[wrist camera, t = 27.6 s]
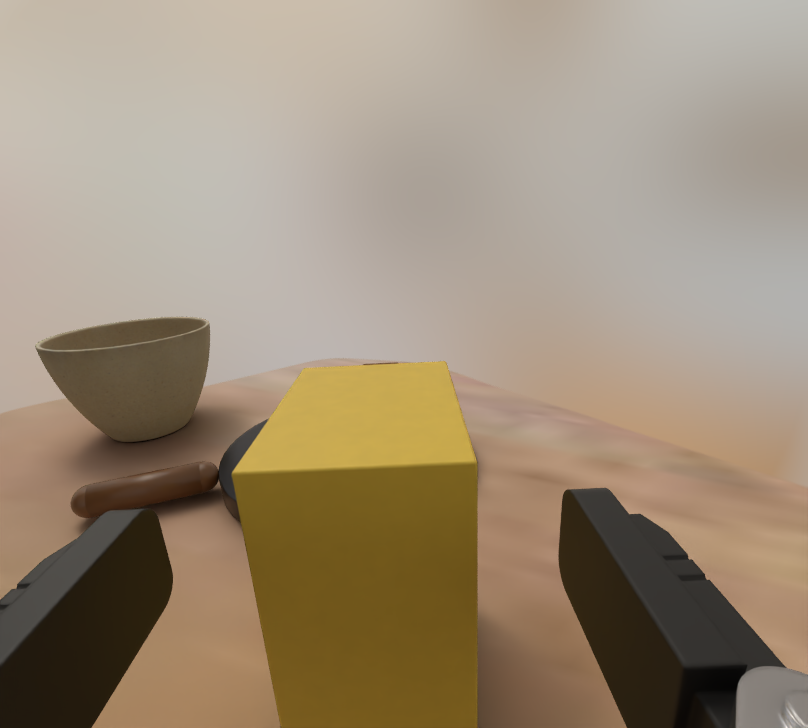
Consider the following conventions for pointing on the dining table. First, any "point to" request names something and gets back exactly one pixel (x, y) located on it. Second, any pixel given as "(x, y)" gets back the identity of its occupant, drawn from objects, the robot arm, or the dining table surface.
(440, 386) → the sponge
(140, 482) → the pan
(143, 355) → the beige bowl
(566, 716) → the dining table surface
